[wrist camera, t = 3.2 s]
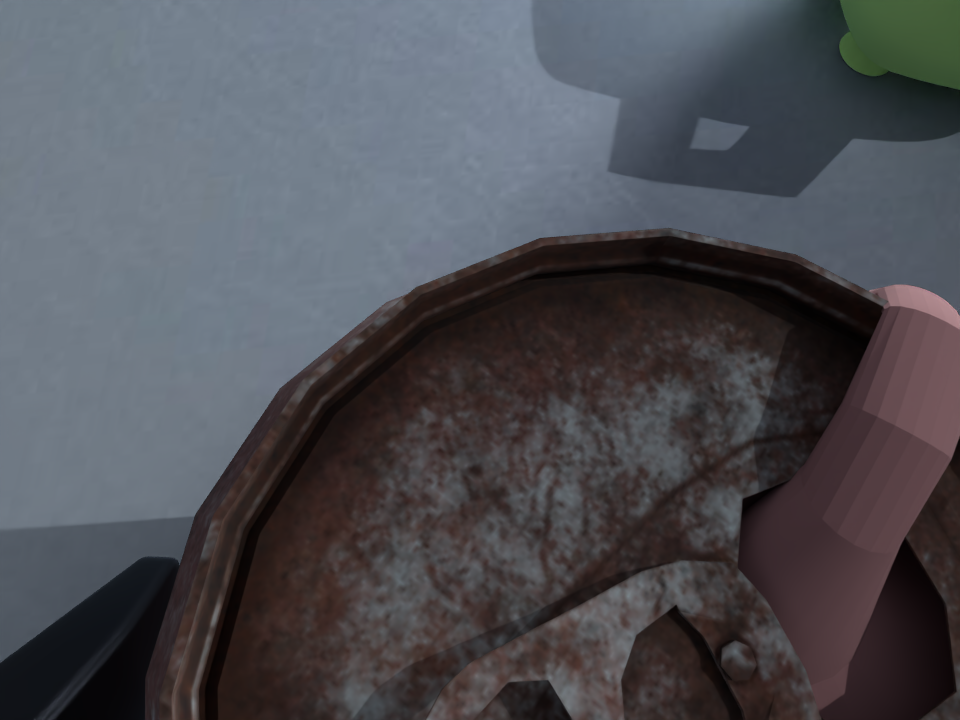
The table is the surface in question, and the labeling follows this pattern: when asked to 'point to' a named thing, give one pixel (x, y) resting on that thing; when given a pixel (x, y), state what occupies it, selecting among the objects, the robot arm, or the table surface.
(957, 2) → the teapot
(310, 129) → the table surface
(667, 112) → the table surface
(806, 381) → the can
